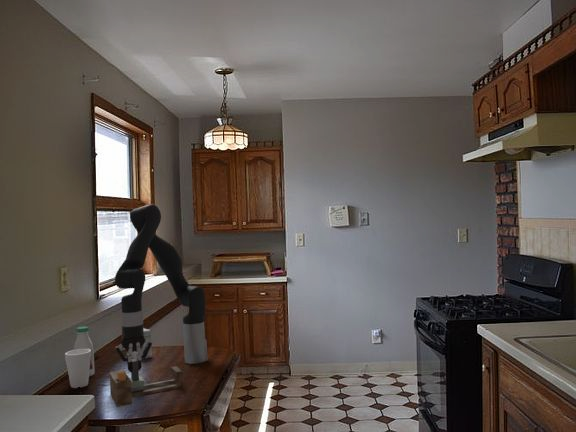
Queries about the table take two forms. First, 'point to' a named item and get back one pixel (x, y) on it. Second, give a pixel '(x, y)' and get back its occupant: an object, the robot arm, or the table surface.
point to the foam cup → (78, 367)
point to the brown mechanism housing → (123, 388)
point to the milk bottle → (85, 345)
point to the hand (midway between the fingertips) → (134, 370)
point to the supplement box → (148, 338)
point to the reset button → (121, 376)
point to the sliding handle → (136, 377)
